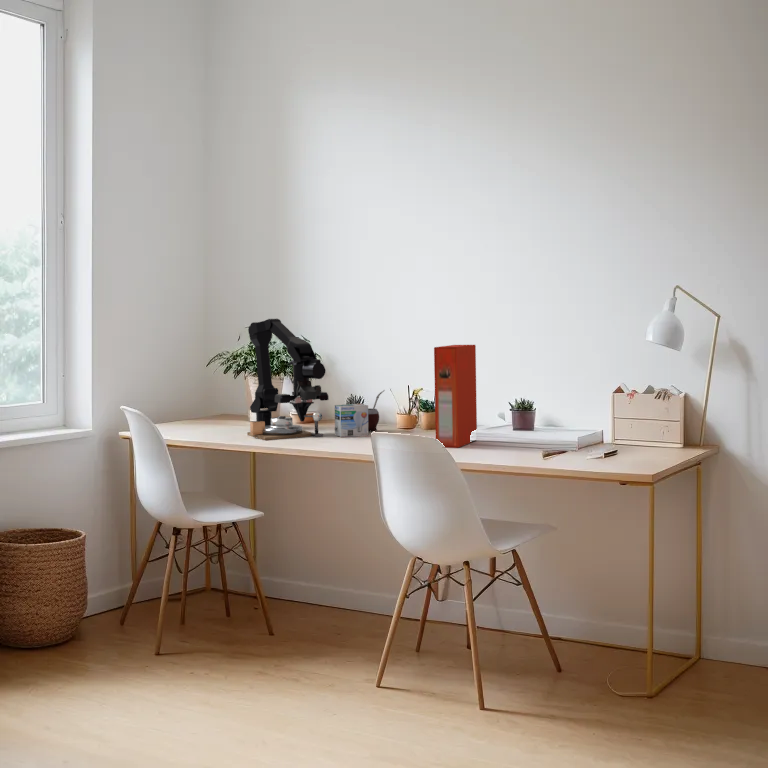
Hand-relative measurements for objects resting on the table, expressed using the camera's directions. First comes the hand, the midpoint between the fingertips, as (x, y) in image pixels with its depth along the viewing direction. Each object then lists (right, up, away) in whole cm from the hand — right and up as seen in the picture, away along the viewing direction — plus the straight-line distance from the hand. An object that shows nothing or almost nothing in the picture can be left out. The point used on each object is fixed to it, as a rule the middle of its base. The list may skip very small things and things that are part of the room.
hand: (302, 421), depth 354 cm
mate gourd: (+24, -4, +6) cm, 25 cm away
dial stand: (+5, -5, -7) cm, 9 cm away
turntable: (-9, -4, -5) cm, 10 cm away
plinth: (-7, -5, -4) cm, 9 cm away
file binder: (+53, -6, -30) cm, 61 cm away
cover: (-7, -2, -4) cm, 8 cm away
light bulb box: (+18, -5, -5) cm, 19 cm away
